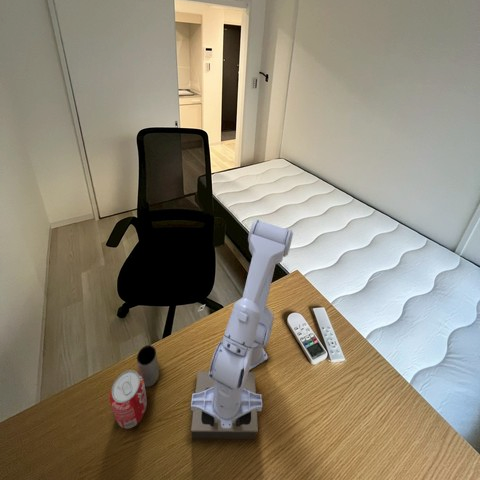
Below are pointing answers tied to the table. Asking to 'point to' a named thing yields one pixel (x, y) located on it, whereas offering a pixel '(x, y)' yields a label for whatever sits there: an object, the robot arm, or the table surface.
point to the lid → (197, 425)
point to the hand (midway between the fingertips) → (224, 420)
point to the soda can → (128, 399)
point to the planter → (148, 365)
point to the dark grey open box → (223, 435)
